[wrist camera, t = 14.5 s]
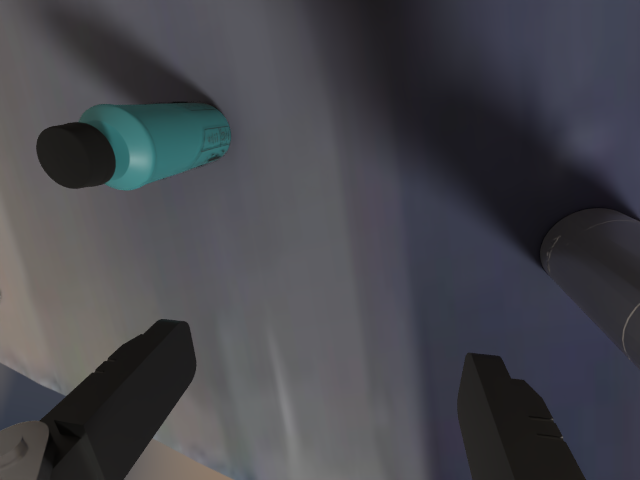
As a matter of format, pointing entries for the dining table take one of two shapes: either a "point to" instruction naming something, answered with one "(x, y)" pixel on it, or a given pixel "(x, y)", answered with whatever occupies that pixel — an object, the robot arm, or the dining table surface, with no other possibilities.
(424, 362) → the dining table surface
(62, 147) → the beverage bottle
